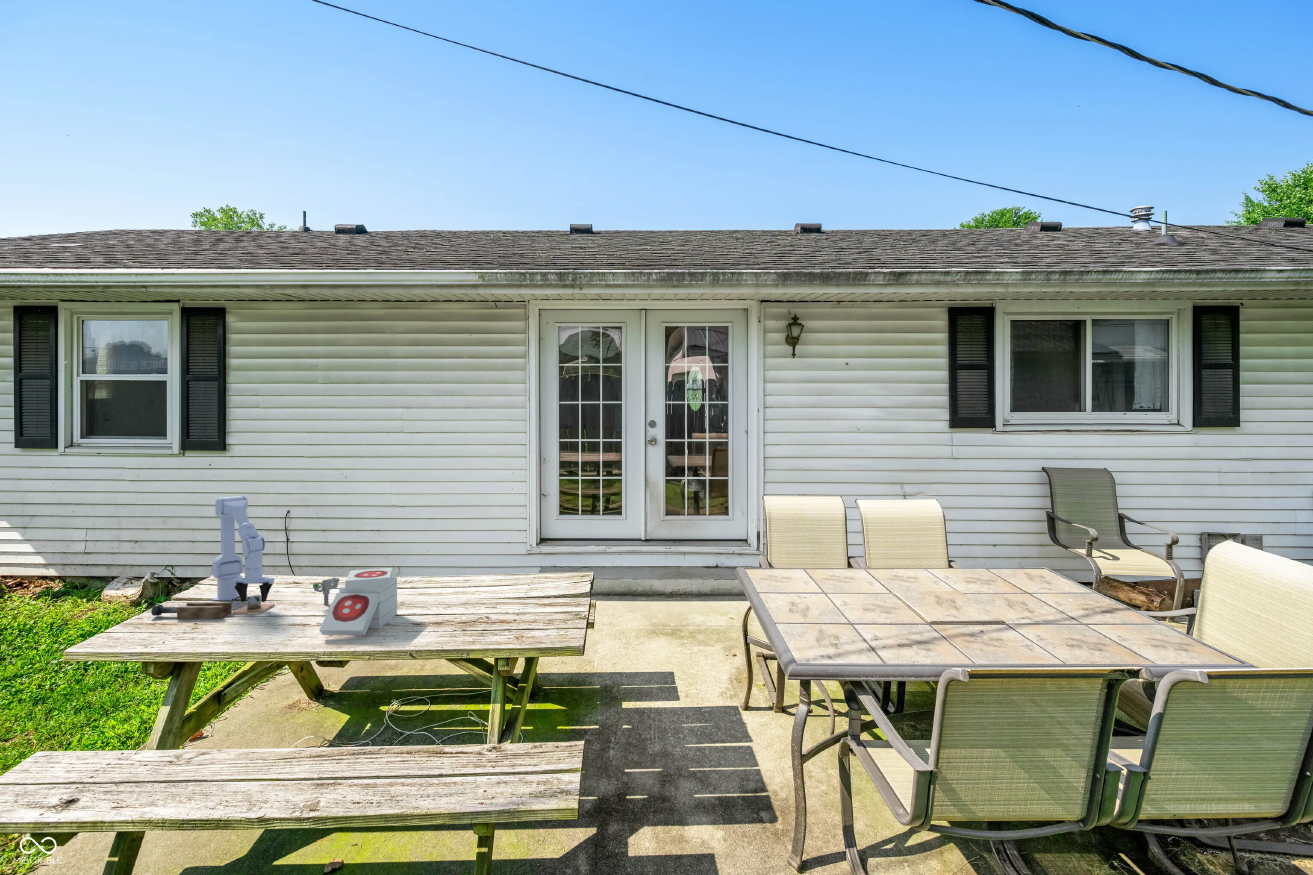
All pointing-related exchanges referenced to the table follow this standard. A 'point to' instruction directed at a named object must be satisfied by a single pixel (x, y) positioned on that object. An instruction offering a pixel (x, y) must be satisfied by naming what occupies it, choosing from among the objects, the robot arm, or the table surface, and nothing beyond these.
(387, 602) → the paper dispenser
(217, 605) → the shaft housing
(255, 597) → the block
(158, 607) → the shaft
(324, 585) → the mechanical component
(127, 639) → the table surface
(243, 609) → the terracotta tile
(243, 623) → the table surface
